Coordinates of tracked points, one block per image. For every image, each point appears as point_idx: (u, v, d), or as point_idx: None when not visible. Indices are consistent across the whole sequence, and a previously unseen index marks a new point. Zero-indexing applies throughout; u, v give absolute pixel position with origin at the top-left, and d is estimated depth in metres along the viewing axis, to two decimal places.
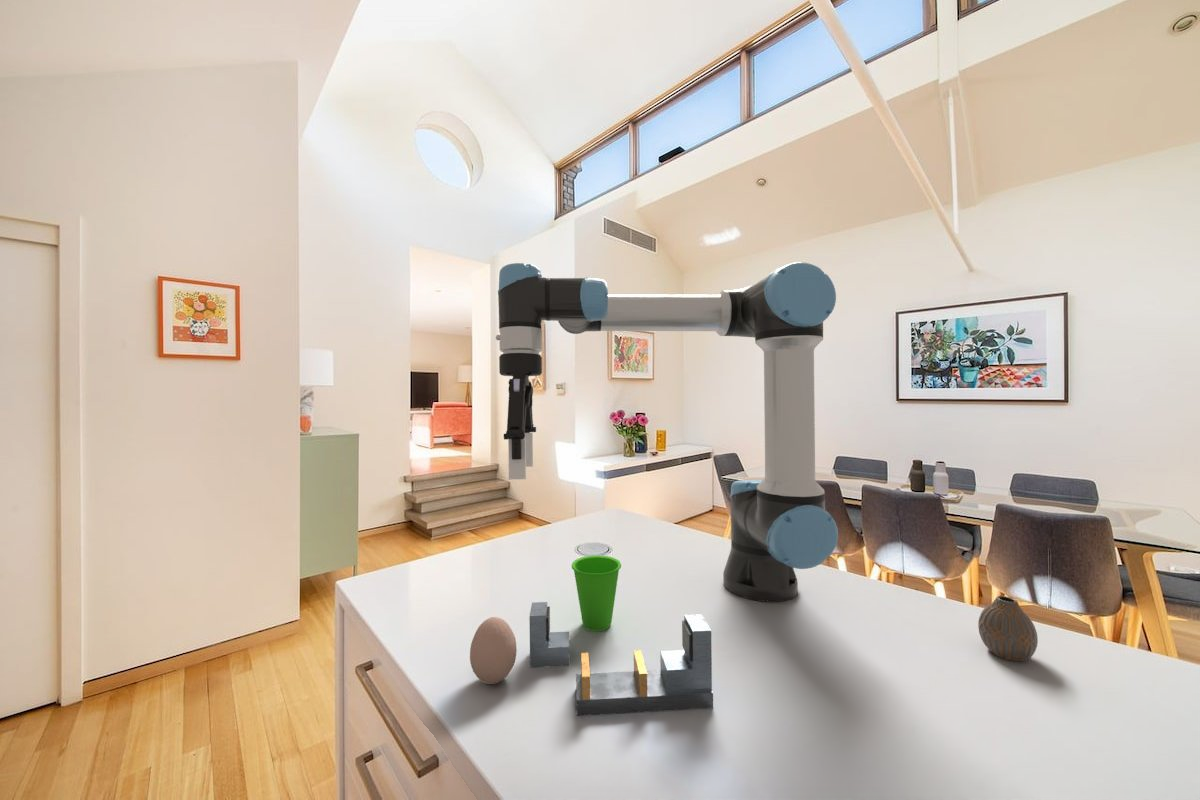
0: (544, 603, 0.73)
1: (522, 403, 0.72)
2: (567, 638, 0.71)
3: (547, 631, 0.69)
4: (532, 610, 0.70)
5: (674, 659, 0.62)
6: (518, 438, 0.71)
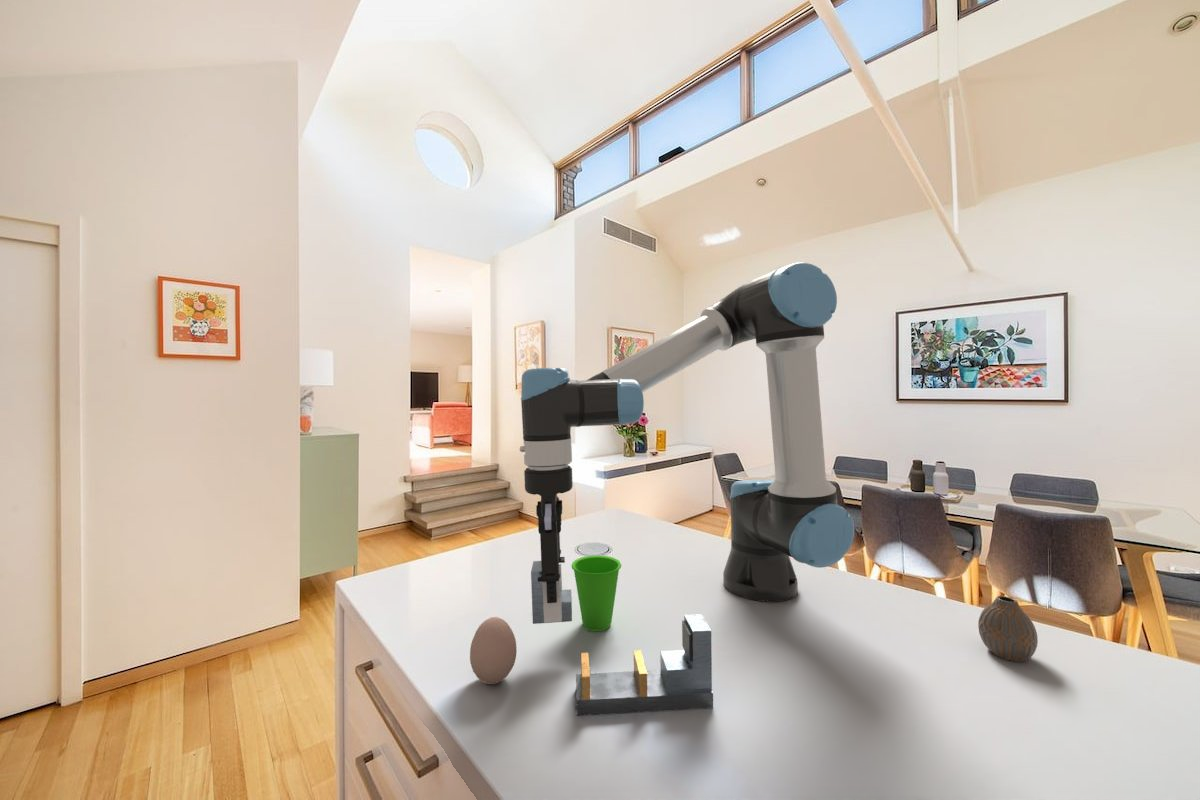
0: None
1: (556, 545, 0.65)
2: (569, 595, 0.71)
3: None
4: (533, 567, 0.70)
5: (674, 659, 0.62)
6: (553, 581, 0.66)
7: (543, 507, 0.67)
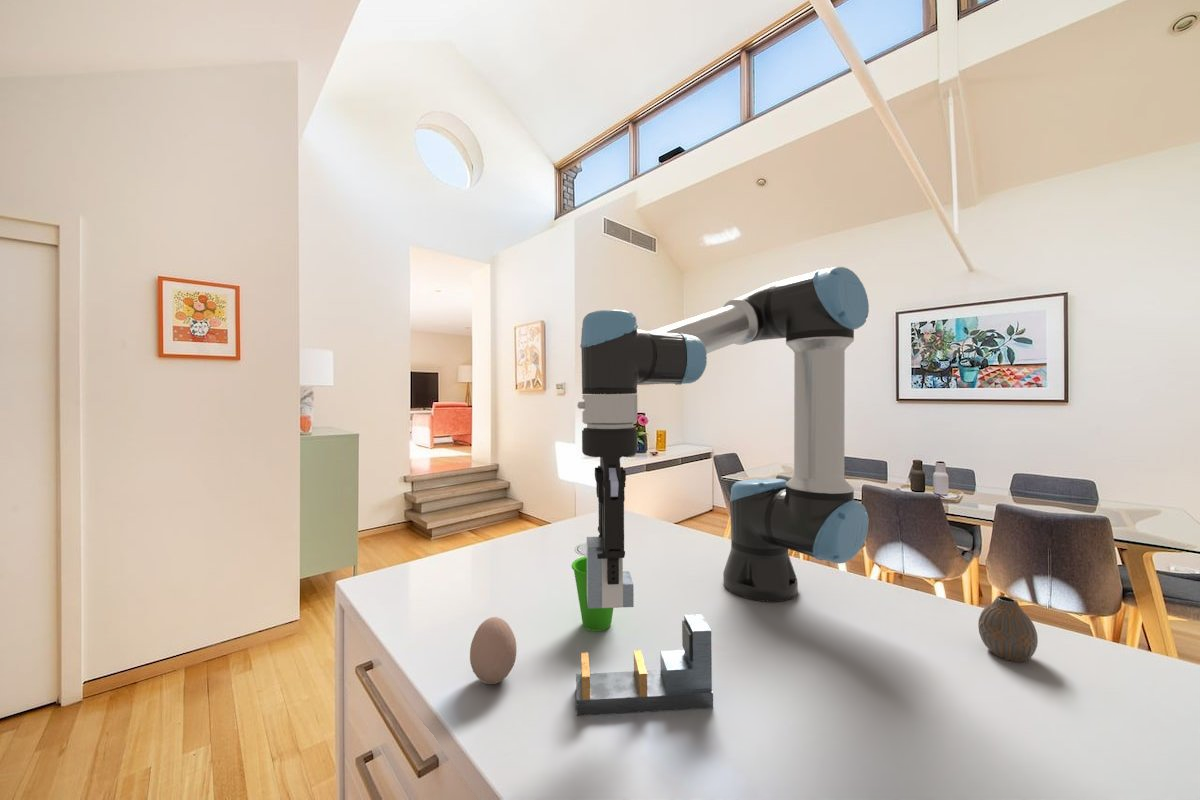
0: (600, 537, 0.63)
1: (622, 516, 0.55)
2: (629, 577, 0.61)
3: None
4: (589, 543, 0.60)
5: (674, 659, 0.62)
6: (616, 559, 0.56)
7: (607, 471, 0.57)
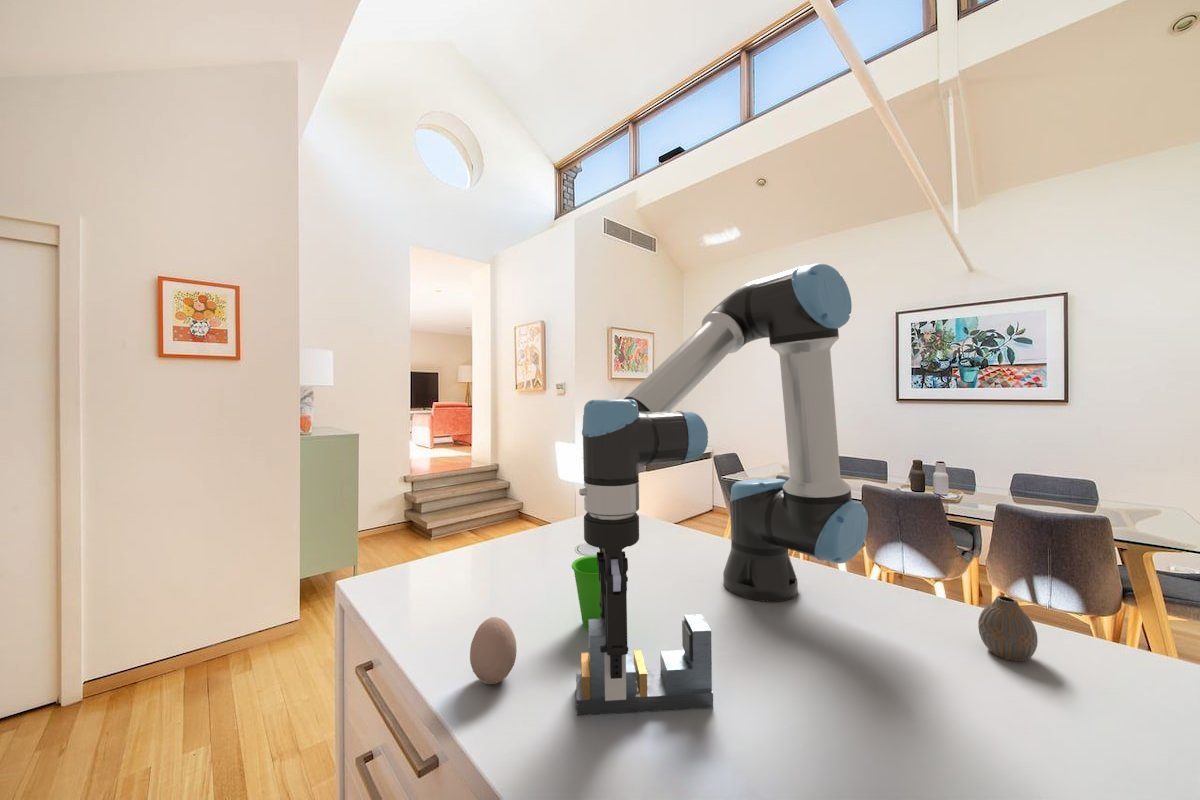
0: (602, 619, 0.63)
1: (625, 611, 0.55)
2: (631, 661, 0.61)
3: None
4: (591, 629, 0.60)
5: (674, 659, 0.62)
6: None
7: (609, 563, 0.57)
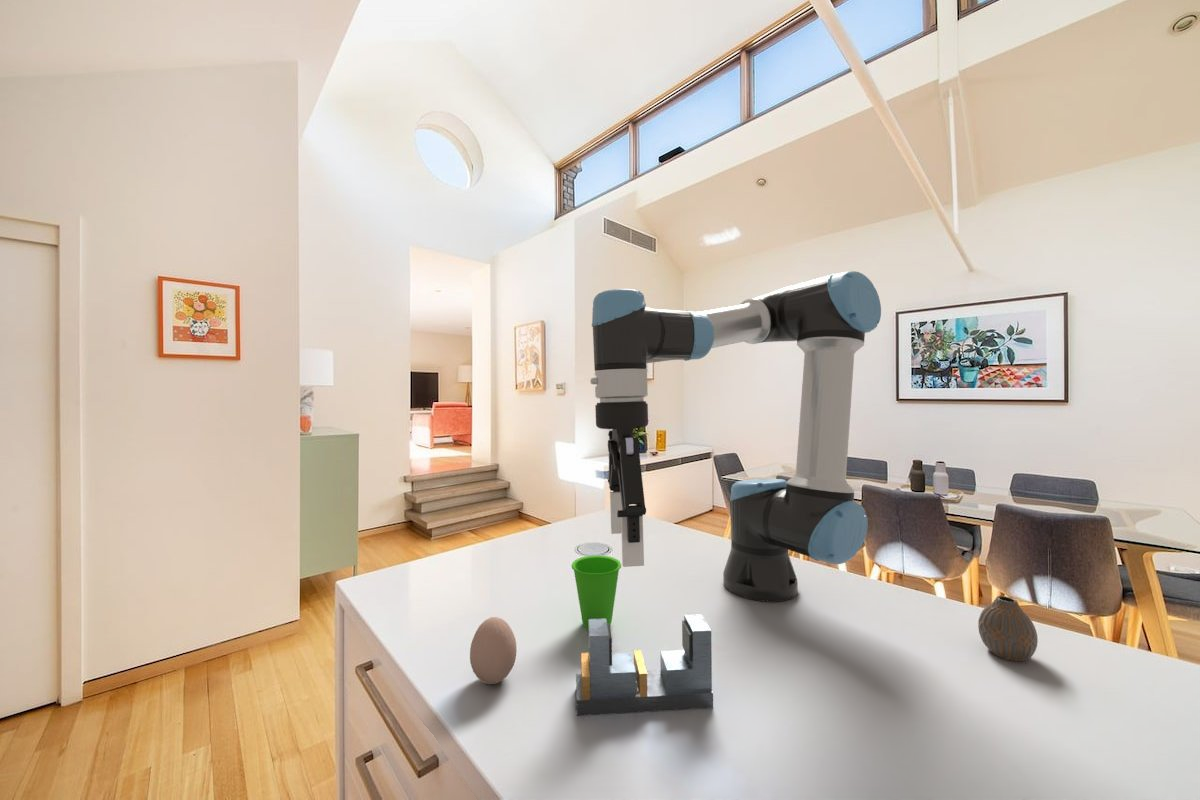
0: (602, 619, 0.63)
1: (639, 470, 0.56)
2: (631, 661, 0.61)
3: (610, 654, 0.59)
4: (591, 629, 0.60)
5: (674, 659, 0.62)
6: (637, 516, 0.56)
7: (621, 438, 0.60)
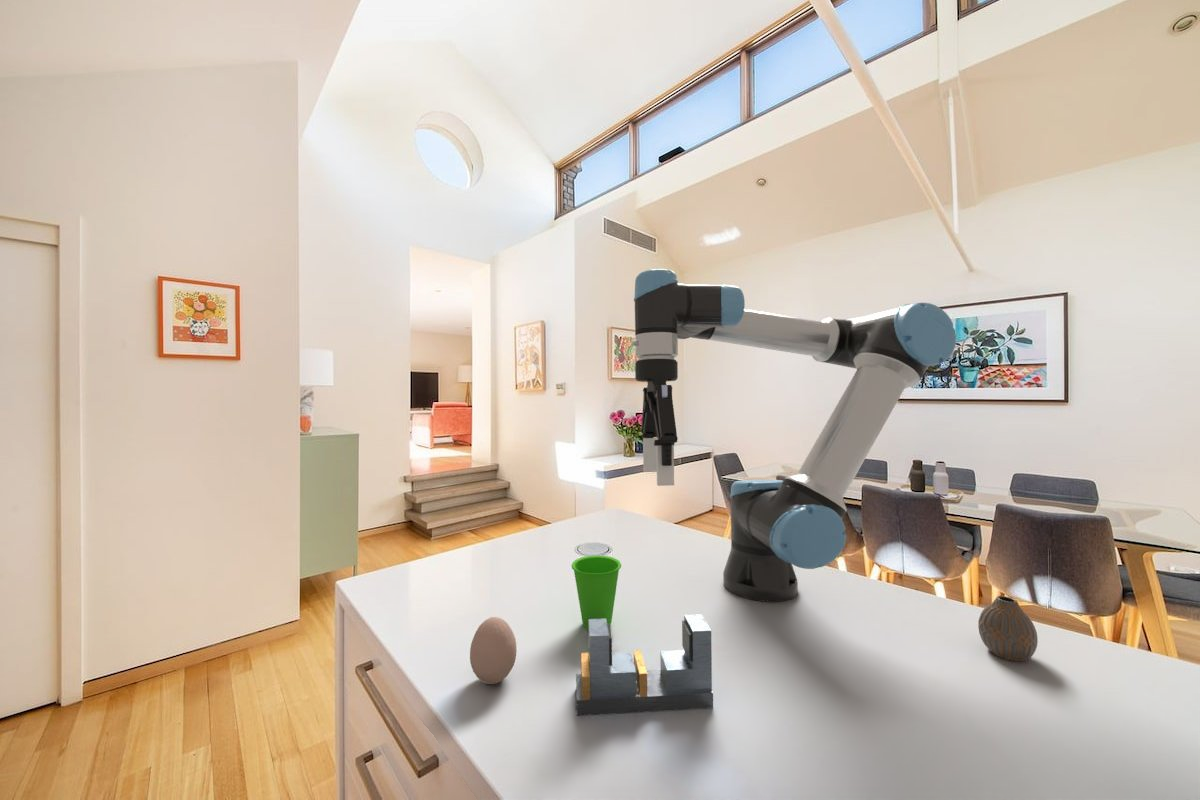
0: (602, 619, 0.63)
1: (672, 409, 0.72)
2: (631, 661, 0.61)
3: (610, 654, 0.59)
4: (591, 629, 0.60)
5: (674, 659, 0.62)
6: (670, 444, 0.71)
7: None
